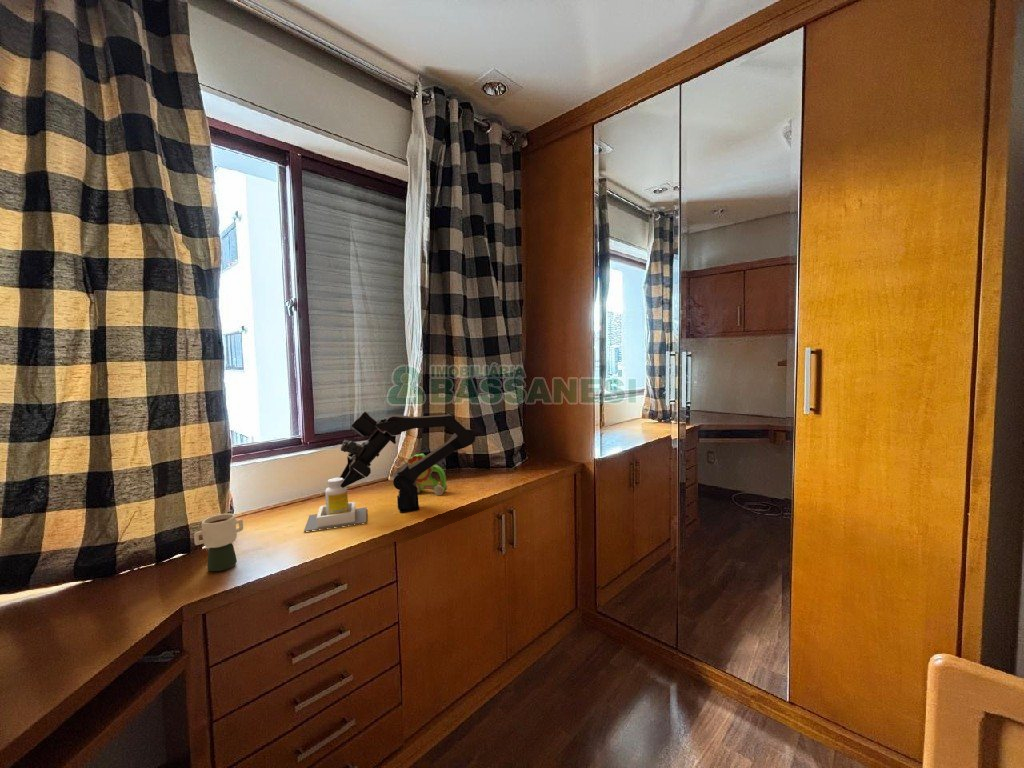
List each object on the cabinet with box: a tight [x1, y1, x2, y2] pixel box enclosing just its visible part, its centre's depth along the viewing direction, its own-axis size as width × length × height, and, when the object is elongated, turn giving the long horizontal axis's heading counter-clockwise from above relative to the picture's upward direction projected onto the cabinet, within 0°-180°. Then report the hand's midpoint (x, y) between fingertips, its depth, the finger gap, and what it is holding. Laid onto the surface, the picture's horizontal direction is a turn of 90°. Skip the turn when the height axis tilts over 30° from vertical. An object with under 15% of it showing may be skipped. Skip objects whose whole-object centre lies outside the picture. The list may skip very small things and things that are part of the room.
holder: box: [303, 501, 367, 532], centre depth 139 cm, size 18×14×4 cm
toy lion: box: [406, 453, 448, 496], centre depth 164 cm, size 16×5×15 cm, turn 76°
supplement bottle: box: [324, 477, 349, 515], centre depth 139 cm, size 7×7×13 cm
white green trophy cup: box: [193, 513, 244, 572], centre depth 108 cm, size 11×7×13 cm, turn 145°
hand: (340, 483), depth 139 cm, fingers open, 9 cm apart
